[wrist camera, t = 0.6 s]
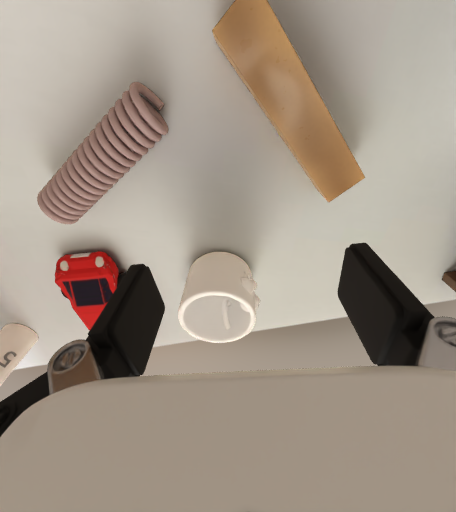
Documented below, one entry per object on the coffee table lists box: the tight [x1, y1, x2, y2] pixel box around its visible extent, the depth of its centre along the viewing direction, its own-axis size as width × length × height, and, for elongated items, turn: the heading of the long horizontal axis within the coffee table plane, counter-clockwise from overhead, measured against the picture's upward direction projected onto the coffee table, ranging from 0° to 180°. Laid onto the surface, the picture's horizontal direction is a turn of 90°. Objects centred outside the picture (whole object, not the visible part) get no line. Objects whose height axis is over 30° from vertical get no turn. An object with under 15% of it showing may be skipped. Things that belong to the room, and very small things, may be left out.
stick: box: [212, 0, 365, 202], centre depth 22 cm, size 4×18×4 cm, turn 42°
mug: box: [178, 252, 260, 343], centre depth 32 cm, size 12×10×9 cm
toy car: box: [55, 251, 126, 330], centre depth 37 cm, size 10×20×5 cm, turn 11°
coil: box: [37, 82, 168, 224], centre depth 24 cm, size 5×5×18 cm
